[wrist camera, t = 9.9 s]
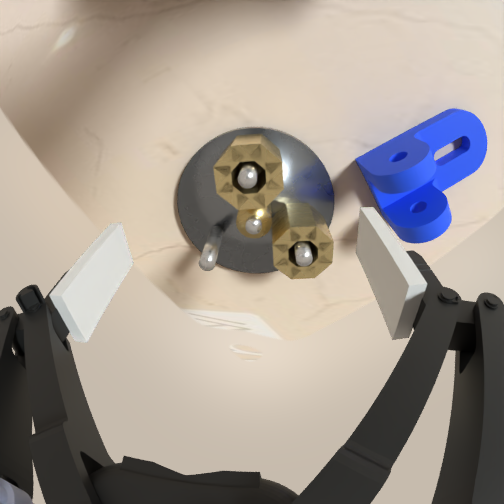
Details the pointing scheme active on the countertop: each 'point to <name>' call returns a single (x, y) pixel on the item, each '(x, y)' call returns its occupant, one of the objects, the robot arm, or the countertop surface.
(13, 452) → the robot arm
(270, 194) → the octagonal wooden tube
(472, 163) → the bracket
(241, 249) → the carrier
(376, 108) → the countertop surface
